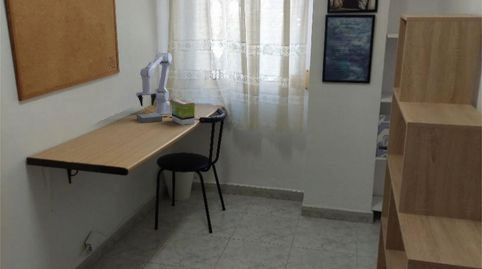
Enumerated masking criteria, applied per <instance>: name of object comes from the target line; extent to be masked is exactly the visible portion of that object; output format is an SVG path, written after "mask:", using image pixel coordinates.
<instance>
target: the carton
mask: <svg viewBox="0 0 482 269" xmlns="http://www.w3.org/2000/svg"><path fill="white" fill-rule="evenodd" d="M136 120H138V121H139V122H140V123H141V124H146V123H148V124H149V123H157V122H163V116H162V117H154V118H143V119H142V118H141V117H139V116H138V115H137V114H136Z"/></svg>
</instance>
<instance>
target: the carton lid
mask: <svg viewBox="0 0 482 269" xmlns="http://www.w3.org/2000/svg"><path fill="white" fill-rule="evenodd" d="M137 115H138V116H139V117H141V118H142V119H143V118H154V117H162V118H163V116H162V114H158V113H156V111H154V112H151V109H150V108H149V107H147V108H144V112H143V113H136V116H137Z"/></svg>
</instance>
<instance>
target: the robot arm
mask: <svg viewBox="0 0 482 269" xmlns="http://www.w3.org/2000/svg"><path fill="white" fill-rule="evenodd" d="M172 60H173V56H172V53H170V52H161V51H158V52H157V53H156V54H155V58H154V60H152V61H150V62H148V64H147V65H146V66H145V67H144V68H141V69H140V74H139V75H140V77H141V81H142V84H141V85H142V86H141V87H142V91H141V92H140V91H139V92H136V93H135V96H136V97H137V98H138V101H139V103H140V106H141V107H143V106H144V104H143V103H144V102H143V101H144V100H143V99H144V97H143V96H150V99H151V102H150V103H151V104H150V105H151V106H154V103H155V102H156V105H155V108H156V111H155V112H156V113H158V114H160V115H169V114H171V104H170V103H171V102H170V101H169V99H170V94H169V93H170V92H169V90H168V89H167V84H168V78H169V71H170V66H172V62H173V61H172ZM158 65H161V66H162V67H161V71H160V77H159V78H160V79H159V83H158V87H157V88H156V89H155V91H152V79H151V78H152V77H153V74H154V71H155V70H156V69H157V66H158Z"/></svg>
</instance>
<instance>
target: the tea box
mask: <svg viewBox="0 0 482 269" xmlns="http://www.w3.org/2000/svg"><path fill="white" fill-rule="evenodd" d="M171 121H173V122H175V123H178V124H180V125H182V126H186V125H185V124H187V125H192V123H193V124H195V102H193V101H191V100H188V99H186V98H179V99H178V98H177V99H171Z"/></svg>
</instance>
